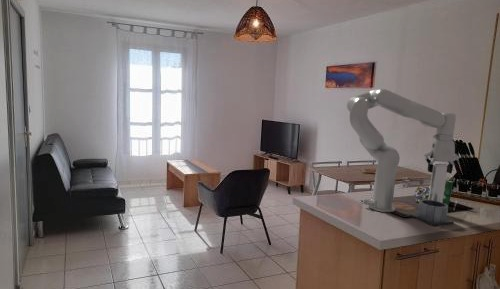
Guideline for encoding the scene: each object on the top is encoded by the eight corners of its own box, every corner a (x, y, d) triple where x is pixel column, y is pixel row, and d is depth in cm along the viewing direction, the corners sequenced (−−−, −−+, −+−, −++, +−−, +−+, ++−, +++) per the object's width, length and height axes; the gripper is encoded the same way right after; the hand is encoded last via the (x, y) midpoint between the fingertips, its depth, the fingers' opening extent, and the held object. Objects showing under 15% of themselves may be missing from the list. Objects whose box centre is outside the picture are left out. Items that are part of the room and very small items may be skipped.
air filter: (442, 215, 177) (449, 165, 174) (428, 213, 178) (435, 164, 175) (438, 211, 184) (445, 163, 180) (425, 209, 185) (431, 161, 181)
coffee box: (449, 204, 198) (453, 181, 196) (449, 205, 195) (453, 181, 193) (433, 201, 202) (436, 178, 200) (433, 202, 199) (436, 179, 198)
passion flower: (416, 211, 198) (408, 191, 204) (434, 208, 199) (426, 188, 204) (425, 205, 188) (416, 184, 193) (444, 202, 189) (436, 181, 194)
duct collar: (433, 226, 160) (435, 208, 159) (410, 216, 172) (412, 200, 171) (453, 223, 165) (456, 206, 164) (429, 214, 177) (431, 198, 176)
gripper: (431, 138, 172) (426, 173, 174) (466, 139, 172) (461, 174, 175) (422, 136, 179) (418, 169, 181) (456, 138, 180) (451, 171, 182)
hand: (439, 172), depth 178 cm, fingers open, 9 cm apart
